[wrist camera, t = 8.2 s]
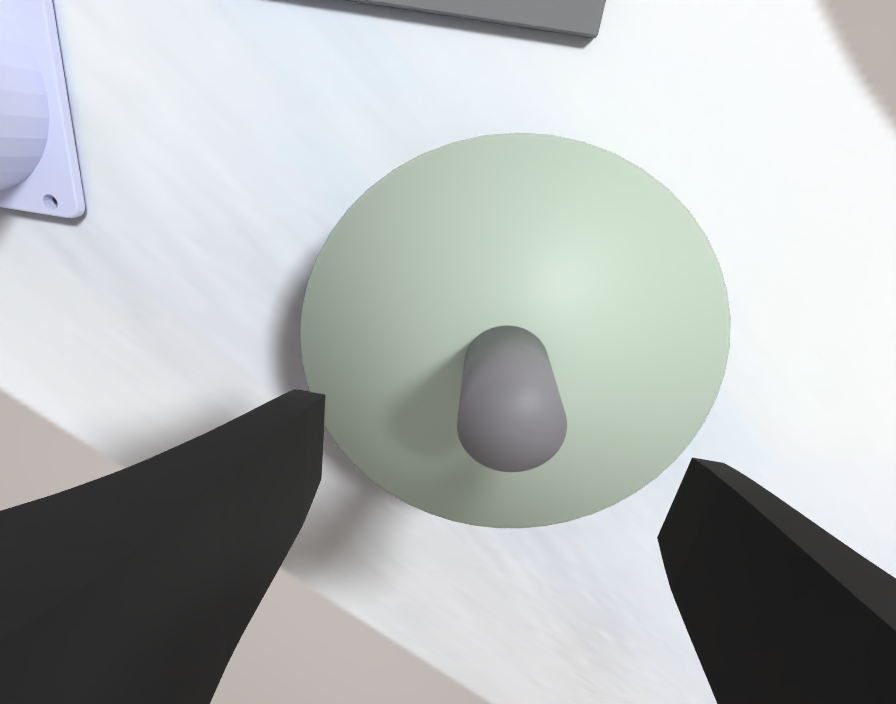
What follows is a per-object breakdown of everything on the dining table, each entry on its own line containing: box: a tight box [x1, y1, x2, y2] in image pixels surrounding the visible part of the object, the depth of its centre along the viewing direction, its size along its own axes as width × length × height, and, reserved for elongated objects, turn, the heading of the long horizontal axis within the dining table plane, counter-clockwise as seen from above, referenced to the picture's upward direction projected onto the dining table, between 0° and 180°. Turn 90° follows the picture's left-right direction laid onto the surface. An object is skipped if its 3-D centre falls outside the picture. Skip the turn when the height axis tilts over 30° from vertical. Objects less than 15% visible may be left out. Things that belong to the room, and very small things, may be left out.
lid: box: [300, 133, 731, 528], centre depth 13 cm, size 13×13×4 cm
